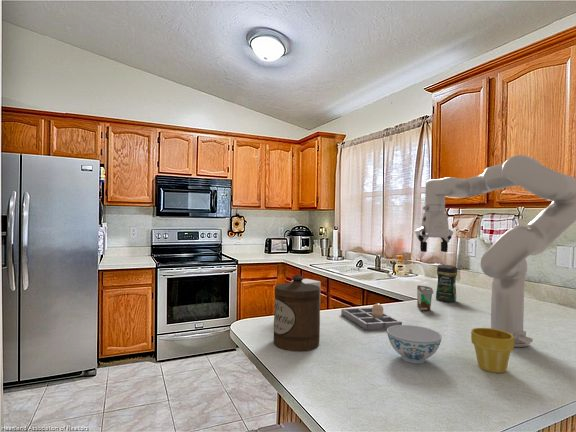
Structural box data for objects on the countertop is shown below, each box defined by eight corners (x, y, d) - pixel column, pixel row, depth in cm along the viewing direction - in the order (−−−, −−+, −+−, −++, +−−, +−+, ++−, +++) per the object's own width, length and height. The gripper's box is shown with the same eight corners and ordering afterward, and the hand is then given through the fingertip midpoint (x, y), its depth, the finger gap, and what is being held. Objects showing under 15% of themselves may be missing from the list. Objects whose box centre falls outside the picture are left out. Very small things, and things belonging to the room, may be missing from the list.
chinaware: (398, 346, 114) (398, 322, 114) (447, 358, 105) (448, 332, 105) (377, 359, 102) (378, 332, 103) (431, 374, 93) (431, 345, 93)
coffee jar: (433, 300, 185) (434, 264, 185) (439, 297, 191) (439, 263, 191) (453, 303, 179) (454, 266, 179) (458, 301, 184) (459, 265, 185)
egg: (385, 320, 141) (385, 304, 141) (375, 320, 140) (375, 305, 140) (379, 317, 145) (380, 302, 145) (369, 317, 144) (370, 302, 144)
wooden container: (267, 337, 119) (269, 272, 119) (308, 334, 124) (309, 270, 124) (282, 353, 105) (284, 279, 105) (327, 348, 110) (329, 277, 110)
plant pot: (465, 367, 98) (465, 332, 99) (477, 358, 106) (478, 325, 106) (507, 380, 91) (508, 341, 91) (518, 369, 98) (518, 333, 98)
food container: (435, 313, 158) (436, 290, 158) (421, 312, 159) (421, 289, 159) (430, 306, 170) (430, 285, 170) (416, 305, 171) (417, 285, 171)
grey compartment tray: (401, 328, 133) (402, 321, 133) (365, 330, 129) (365, 323, 129) (373, 313, 154) (373, 307, 154) (341, 314, 150) (341, 308, 151)
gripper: (422, 208, 139) (421, 252, 139) (459, 210, 144) (458, 252, 143) (410, 209, 146) (409, 250, 146) (446, 210, 151) (445, 251, 151)
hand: (433, 251), depth 145 cm, fingers open, 9 cm apart
